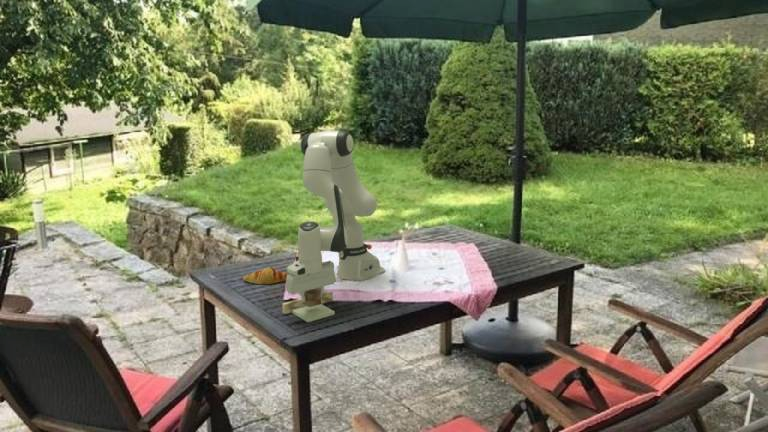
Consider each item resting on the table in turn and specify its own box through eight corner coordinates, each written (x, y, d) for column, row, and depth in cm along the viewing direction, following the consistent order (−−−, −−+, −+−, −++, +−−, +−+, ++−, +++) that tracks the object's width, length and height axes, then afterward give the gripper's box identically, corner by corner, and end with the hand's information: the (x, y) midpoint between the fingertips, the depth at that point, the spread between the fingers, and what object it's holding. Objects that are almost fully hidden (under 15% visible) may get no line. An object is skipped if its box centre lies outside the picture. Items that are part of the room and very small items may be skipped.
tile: (318, 305, 256) (318, 302, 256) (334, 314, 247) (334, 311, 247) (291, 312, 249) (291, 309, 249) (307, 322, 240) (307, 319, 240)
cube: (314, 300, 251) (313, 288, 249) (321, 304, 247) (320, 291, 245) (303, 303, 248) (302, 291, 246) (309, 307, 244) (309, 294, 243)
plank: (330, 299, 262) (330, 290, 261) (332, 300, 261) (332, 291, 260) (282, 313, 249) (282, 303, 248) (284, 314, 248) (284, 304, 247)
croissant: (242, 291, 282) (240, 279, 277) (245, 274, 289) (242, 262, 284) (291, 289, 283) (289, 277, 277) (292, 272, 290) (290, 260, 285)
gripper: (329, 257, 252) (330, 291, 255) (282, 268, 240) (284, 303, 243) (338, 261, 247) (339, 295, 250) (291, 272, 235) (292, 308, 238)
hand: (311, 299), depth 247 cm, fingers closed on cube, 5 cm apart
